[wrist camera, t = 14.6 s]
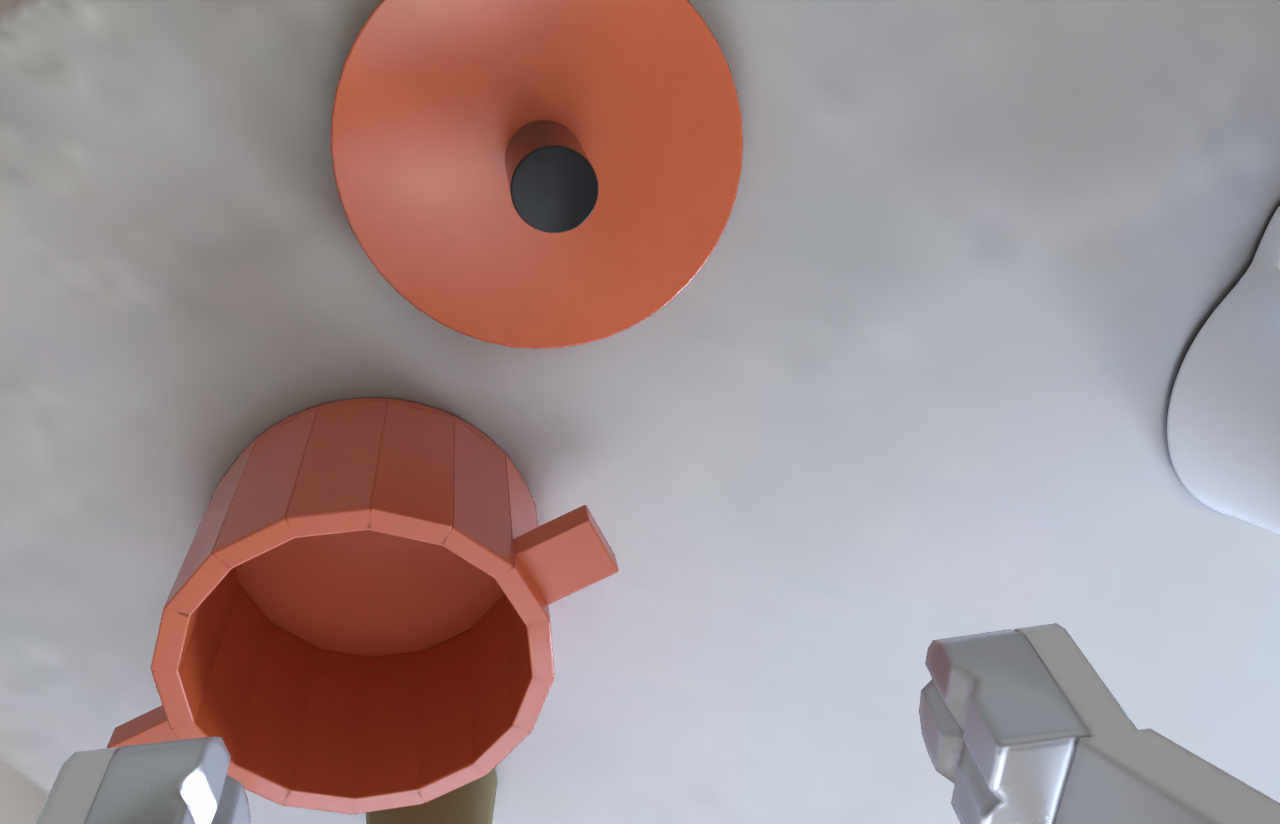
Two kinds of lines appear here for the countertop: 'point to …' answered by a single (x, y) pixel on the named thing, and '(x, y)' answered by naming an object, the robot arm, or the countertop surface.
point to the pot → (366, 610)
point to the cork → (447, 806)
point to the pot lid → (537, 160)
